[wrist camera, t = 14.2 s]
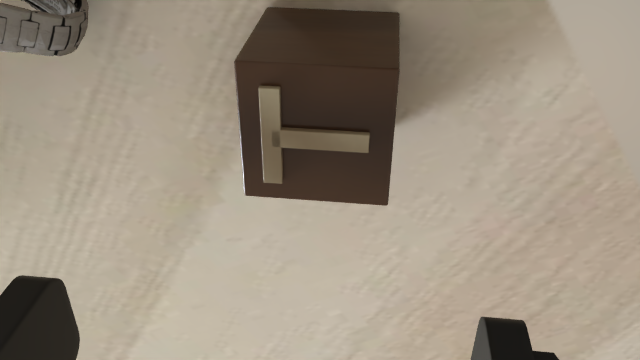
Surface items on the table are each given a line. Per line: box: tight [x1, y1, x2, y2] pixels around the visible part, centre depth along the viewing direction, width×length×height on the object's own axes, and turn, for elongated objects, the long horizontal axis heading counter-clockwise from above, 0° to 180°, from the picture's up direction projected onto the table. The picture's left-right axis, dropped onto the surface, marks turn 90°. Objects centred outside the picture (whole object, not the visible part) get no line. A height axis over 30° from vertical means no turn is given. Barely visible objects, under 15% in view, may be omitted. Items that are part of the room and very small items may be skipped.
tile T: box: [234, 7, 399, 205], centre depth 20 cm, size 5×5×5 cm
